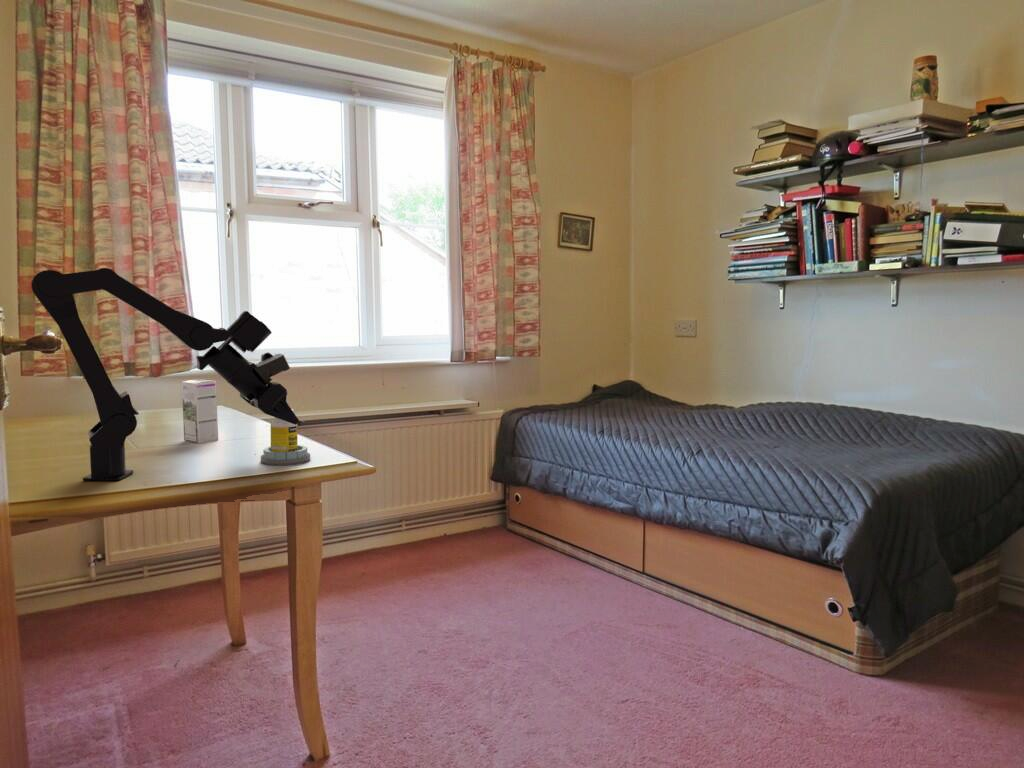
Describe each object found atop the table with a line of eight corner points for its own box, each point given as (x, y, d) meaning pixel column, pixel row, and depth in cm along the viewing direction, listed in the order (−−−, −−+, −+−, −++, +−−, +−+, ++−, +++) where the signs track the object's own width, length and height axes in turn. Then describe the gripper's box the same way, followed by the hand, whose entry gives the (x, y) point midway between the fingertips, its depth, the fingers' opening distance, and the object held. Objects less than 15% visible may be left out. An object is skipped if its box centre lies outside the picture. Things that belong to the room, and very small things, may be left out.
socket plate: (304, 465, 146) (304, 453, 146) (254, 465, 146) (254, 453, 145) (314, 455, 156) (314, 444, 156) (267, 455, 156) (267, 444, 155)
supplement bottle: (291, 458, 148) (290, 411, 147) (266, 457, 148) (265, 411, 147) (301, 453, 153) (301, 408, 152) (277, 452, 154) (276, 407, 153)
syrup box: (219, 440, 172) (217, 380, 170) (197, 444, 167) (195, 382, 165) (204, 437, 175) (203, 378, 173) (182, 441, 170) (180, 380, 168)
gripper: (274, 342, 138) (331, 396, 145) (254, 338, 154) (306, 387, 161) (232, 385, 135) (292, 437, 142) (216, 376, 151) (271, 424, 158)
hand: (291, 419), depth 151 cm, fingers open, 9 cm apart
